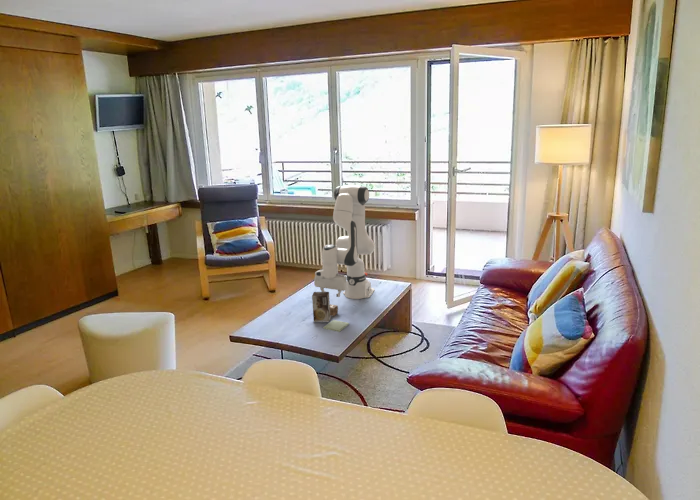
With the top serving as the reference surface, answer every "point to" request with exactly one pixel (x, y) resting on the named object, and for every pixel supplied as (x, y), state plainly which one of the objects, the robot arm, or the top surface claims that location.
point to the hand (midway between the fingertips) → (331, 295)
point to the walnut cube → (333, 310)
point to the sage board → (336, 325)
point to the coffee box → (321, 306)
